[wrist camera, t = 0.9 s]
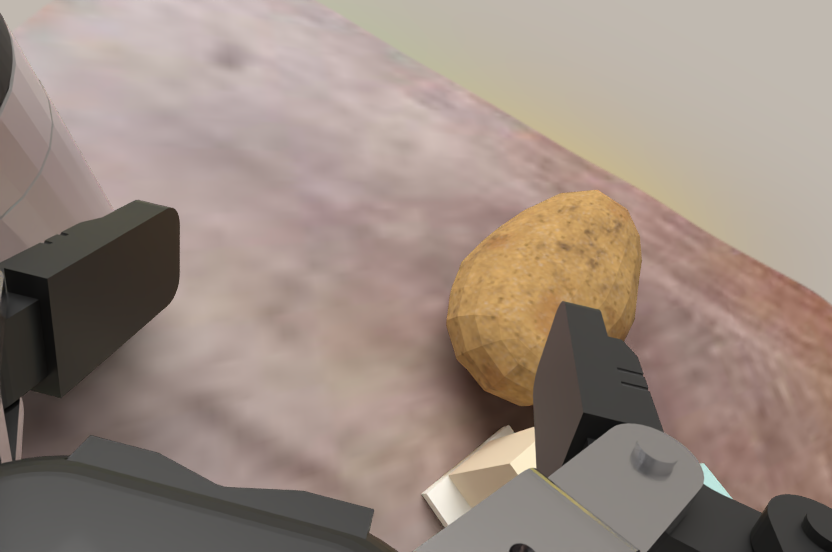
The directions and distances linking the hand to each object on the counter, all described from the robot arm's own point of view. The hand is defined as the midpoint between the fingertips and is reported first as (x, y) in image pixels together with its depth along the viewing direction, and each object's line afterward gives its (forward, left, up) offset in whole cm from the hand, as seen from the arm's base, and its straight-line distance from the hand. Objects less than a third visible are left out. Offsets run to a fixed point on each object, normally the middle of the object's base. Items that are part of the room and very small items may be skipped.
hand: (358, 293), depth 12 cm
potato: (+2, +14, -22) cm, 26 cm away
